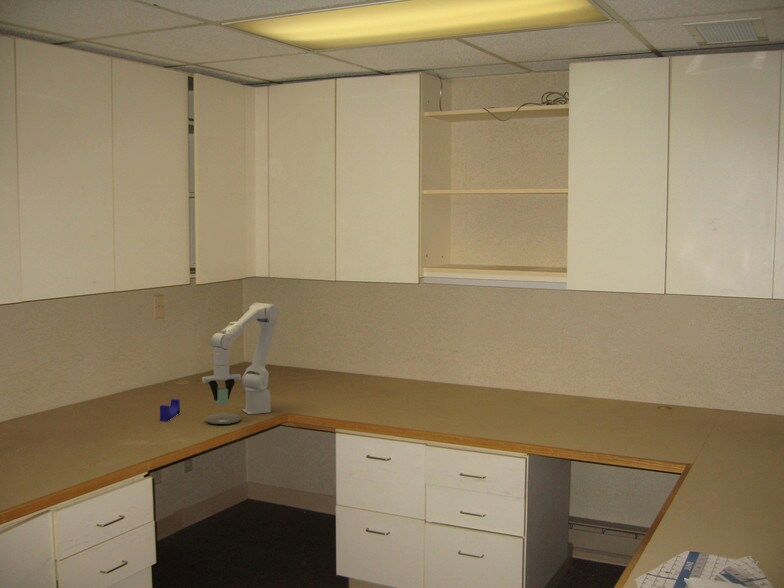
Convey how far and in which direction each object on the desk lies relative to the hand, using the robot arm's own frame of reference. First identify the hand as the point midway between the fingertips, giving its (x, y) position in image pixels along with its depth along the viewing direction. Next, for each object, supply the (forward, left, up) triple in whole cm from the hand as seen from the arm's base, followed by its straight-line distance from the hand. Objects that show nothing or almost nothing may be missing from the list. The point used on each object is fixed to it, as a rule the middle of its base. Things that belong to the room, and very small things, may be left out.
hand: (221, 399), depth 306 cm
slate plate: (0, +1, -8) cm, 8 cm away
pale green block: (0, 0, -2) cm, 2 cm away
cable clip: (+17, -14, -9) cm, 24 cm away
